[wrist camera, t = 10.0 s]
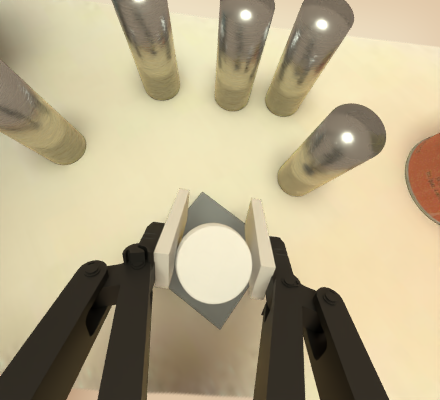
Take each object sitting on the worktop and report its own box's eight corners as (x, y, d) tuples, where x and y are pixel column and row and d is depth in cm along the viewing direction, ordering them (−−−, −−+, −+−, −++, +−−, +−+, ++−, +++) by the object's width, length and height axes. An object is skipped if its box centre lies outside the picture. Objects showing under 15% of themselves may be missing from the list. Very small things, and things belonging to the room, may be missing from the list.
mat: (144, 266, 21) (141, 266, 21) (202, 193, 23) (202, 191, 22) (219, 326, 21) (220, 329, 20) (273, 246, 23) (275, 246, 22)
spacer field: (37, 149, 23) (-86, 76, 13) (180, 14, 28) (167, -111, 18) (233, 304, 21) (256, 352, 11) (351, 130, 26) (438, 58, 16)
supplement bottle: (175, 243, 20) (154, 238, 12) (223, 221, 20) (236, 202, 12) (196, 295, 19) (190, 330, 11) (246, 271, 20) (275, 287, 11)
